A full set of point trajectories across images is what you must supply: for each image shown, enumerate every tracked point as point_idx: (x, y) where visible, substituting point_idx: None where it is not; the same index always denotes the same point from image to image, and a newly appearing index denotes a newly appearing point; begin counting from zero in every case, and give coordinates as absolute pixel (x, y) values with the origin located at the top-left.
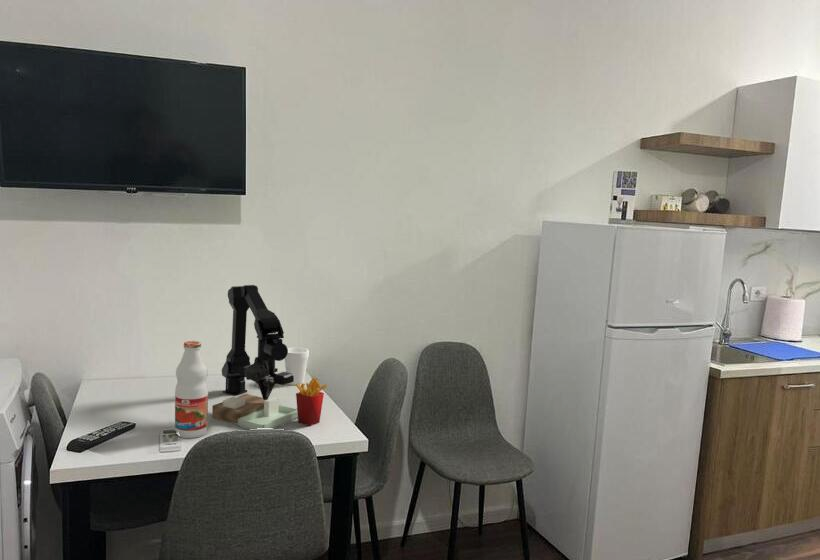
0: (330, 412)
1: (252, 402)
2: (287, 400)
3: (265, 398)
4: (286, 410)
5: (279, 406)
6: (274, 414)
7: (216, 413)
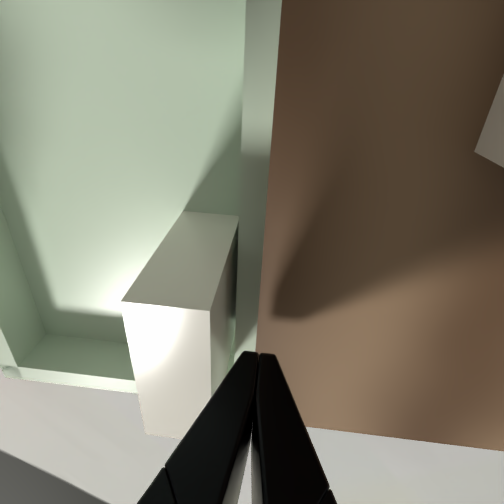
0: (4, 433)
1: (419, 293)
2: None
3: (233, 367)
4: None
5: None
6: None
7: None
